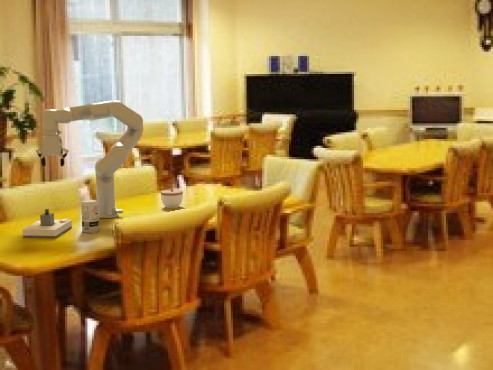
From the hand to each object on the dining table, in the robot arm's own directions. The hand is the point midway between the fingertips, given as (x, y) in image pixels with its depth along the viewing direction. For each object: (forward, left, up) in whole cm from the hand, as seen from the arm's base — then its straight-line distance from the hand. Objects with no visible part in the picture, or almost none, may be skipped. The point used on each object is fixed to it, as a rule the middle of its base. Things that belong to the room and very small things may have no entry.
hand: (53, 166), depth 377 cm
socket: (-8, +31, -28) cm, 43 cm away
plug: (-8, +31, -27) cm, 42 cm away
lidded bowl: (-55, -37, -28) cm, 72 cm away
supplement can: (-28, +27, -28) cm, 48 cm away
